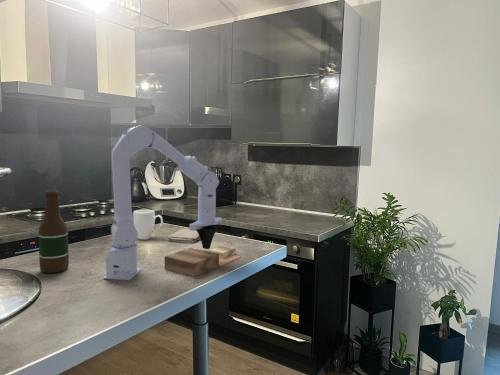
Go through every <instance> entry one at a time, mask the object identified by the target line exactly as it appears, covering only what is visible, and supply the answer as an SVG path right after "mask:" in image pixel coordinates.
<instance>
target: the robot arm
mask: <svg viewBox="0 0 500 375" xmlns="http://www.w3.org/2000/svg"><path fill="white" fill-rule="evenodd" d="M145 148H146V149H147V148H148V149H153V150H157V151H158V152H160V153H161V154H163V155H164V156H166V157H167V158H169V159H170V160H172V162H175V164H177V165H178V170H179V171H180V172H181V173H183V174H184V175H185V176H186V177H188V178H189V179H190V180H192V181H194V182H195V184H196V186H198V191H197V192H198V194H197V196H198V197H197V220H196V221H195V222H192V223H189V229H190V230H192V231H197V232H198V234H199V236H200V242H201V246H202V248H203V249H204V250H210V249H211V246H212V243H213V240H214V236H215V233H216V232H217V231H218V227H217V226H215V225H221V224H223V217H219V216H218V217H216V211H217V210H216V209H217V208H216V207H217V206H216V205H217V204H216V202H217V201H216V200H217V199H216V198H217V192H216V190H217V187H218V186H219V184H220V180H219V177H218V175H217V174H216V173H215V172H213V171H210V170H209V167H208V166H207V165H203V164H202V163H200V162H199V161H198V158H197V157H196V156H191V155H184V154H182V152H180V151H179V150H178V149H176V147H174V146H173V145H172V144H170V143H169V142H168V141H167V140H166V139H165V138H164V137H162V136H161V135H159V134H158V133H157V132H155V131H154V130H151V129H150V128H149V127H147V126H145V125H137V126H132V127H130V128H128V129H127V130H125V131H124V132H123V133H122V134H121V136H120V137H119V140H118V141H117V143H116V144H115V146H114V147H113V149H112V151H111V168H112V183H113V184H112V187H113V188H112V189H113V207H114V213H113V223H112V225H111V226H110V233H111V235H112V236H113V238H114V239H112V241H111V242H110V250H109V252H108V253H107V255H106V257H105V271H106V272H105V273H106V274H105V275H104V276H103V280H121V281H131V280H132V279H133V278H134V277H135V276H136V275H137V274H138V273H139V272H141V271H142V270H143V268H142V267H138V244H137V243H138V242H137V240H138V233H137V230H136V229H135V227H134V216H133V212H132V211H133V209H132V207H133V206H132V189H131V188H132V187H131V186H132V185H131V182H132V181H131V165H130V164H131V162H130V160H131V158H132V157H133V156H135V154H136V153H138V151H141V150H144V149H145Z"/></svg>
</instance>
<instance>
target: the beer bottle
mask: <svg viewBox="0 0 500 375" xmlns="http://www.w3.org/2000/svg"><path fill="white" fill-rule="evenodd" d="M44 195H45V213H44V214H45V215H44V218H43V219H42V221H41V223H40V224H39V228H38V235H37V236H38V255H39V256H38V257H39V270H40V271H41V272H43V273H45V274H51V273H52V274H55V273H59V272H60V273H61V272H63V271H66V270H67V269H68V268H69V265H70V264H69V263H70V262H69V232H68V231H69V230H68V225H67V224H66V221H65V219H63V217H62V216H61V212H60V211H61V210H60V200H59V195H60V191H59V190H55V189H53V190H51V189H50V190H46V191H45V193H44Z"/></svg>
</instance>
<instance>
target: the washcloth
mask: <svg viewBox="0 0 500 375" xmlns="http://www.w3.org/2000/svg"><path fill="white" fill-rule="evenodd" d="M166 238H167V242H171V243H178V244H188V243H190V244H194V242H195V241H197V240H198V239H200V236H199V234H198V232H197V231H192V230H190V228H183V229H181V230H178V231H176V232H174V233H172V234H169V235H168V236H166ZM200 240H201V239H200ZM197 242H198V241H197ZM195 243H196V242H195ZM190 244H189V245H190Z"/></svg>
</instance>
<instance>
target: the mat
mask: <svg viewBox="0 0 500 375" xmlns="http://www.w3.org/2000/svg"><path fill="white" fill-rule="evenodd" d="M207 252H209V250H208V251H207ZM241 258H242V256H241V255H237V254H234V255H231V256H229V257H226V258H224V259H220V258H219V266H218V267H222V266H224V265H227V264H229V263H231V262H233V261H236V260H238V259H241Z"/></svg>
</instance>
